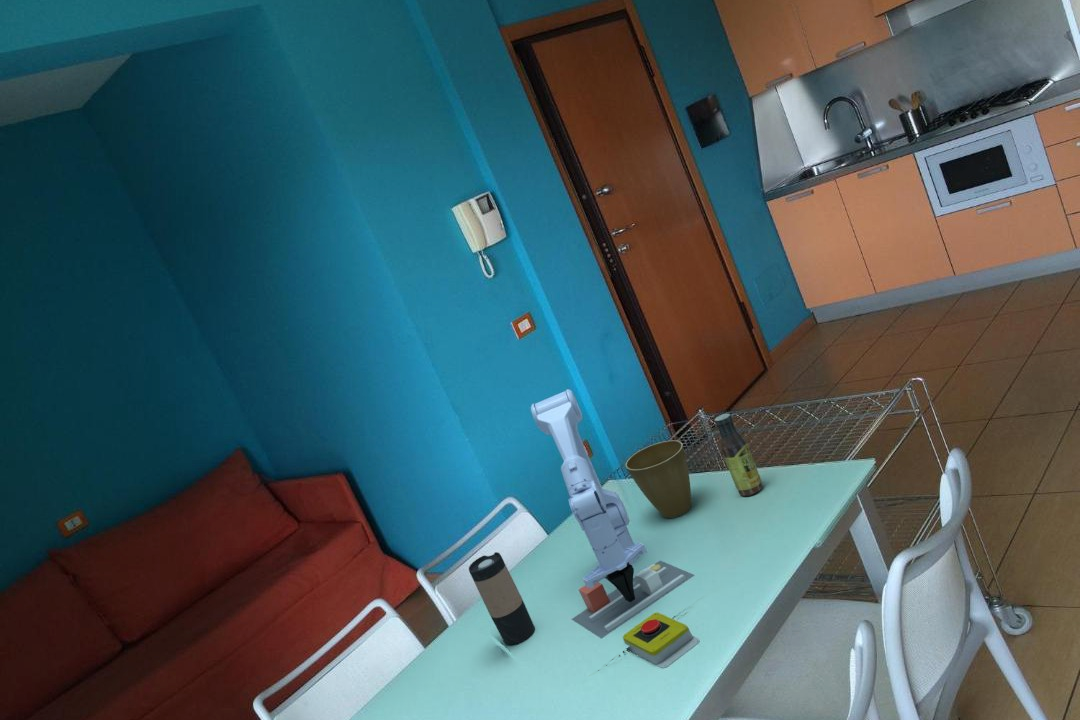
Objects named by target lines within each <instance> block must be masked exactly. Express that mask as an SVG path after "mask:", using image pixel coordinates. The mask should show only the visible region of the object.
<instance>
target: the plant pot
mask: <svg viewBox="0 0 1080 720" xmlns="http://www.w3.org/2000/svg"><path fill="white" fill-rule="evenodd" d="M688 467H689V466H688V462H687V457H686V452H685V449H684V445H683V442H682V441H680V440H676V439H675V440H664V441H660V442H656V443H654V444H651V445H649V446H646V447H644V448H642V449H640V450H638V451H637V452H635V453H633V454H632V456H630V457H629V458H628V459H627V461H626V462H625V468H626V470H627V471H628V473H629V475H630V476H631V477H632V479H633V482H634V483H635V484H636V485H637V487H638V488H639V490H640V491H641V493H642V494H643V495H644V496H645V498H646V499H647V500H648V502H649V503H651V505H652V506H653V507H654V508H655V509H656V511H657V512H659V514H660V515H661V516H662V517H663V518H665V519H674V518H677V517H680V516H683V515H685V514H686V513H687V512H689V510H690V509H691V507H692V498H691V497H692V493H691V491H692V489H691V481H690V473H689V468H688Z"/></svg>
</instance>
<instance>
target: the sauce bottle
mask: <svg viewBox="0 0 1080 720" xmlns="http://www.w3.org/2000/svg"><path fill="white" fill-rule="evenodd" d="M714 423H715V425H716V427H717V429H718V431H719V434H720V436H721V438H720V445H719V446H720V450H721V453H722V454H723V458H724V460H725V463H726V466H727V468H728V471H729V473H730V476H731V479H732V481H733V484H734V485H735V489H736V490H737V491H738V494H739V495H740V496H742V497H749V496H753V495H755V494H757V493H758V492H760V491H761V490H762V489H763V483H762V478H761V476H760V473H759V470H758V468H757V465H756V463H755V461H754V458H753V455H752V453H751V451H750V447H749V446H748V445H749V444H748V443H747V441H746V440H745V439H744V438H743V437H742V435H741V434H740V433H739V431H737V429H736V427H735V424H734V422H733V417H732V415H731V414H730V413H722V414H721V415H718V416H716V417H715V419H714Z"/></svg>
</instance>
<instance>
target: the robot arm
mask: <svg viewBox="0 0 1080 720" xmlns="http://www.w3.org/2000/svg"><path fill="white" fill-rule="evenodd" d="M530 412H531V414H532V417H533V420H534V422H535V424H536V426H537V427H538V429H539V430H540V431H541V432H543V433H544V434H545V435H550V436H552V439H553V440H554V442H555V445H556V447H557V449H558V451H559V454H560V456H561V458H562V460H563V463H562V464H561V466H560V471H561V474H562V477H563V481H564V484H565V486H566V489H567V492H568V495H569V498H568V504H569V507H570V510H571V512H572V515H573V517H574V518H575V520H576V521H577V522H578V523H577V524H579V526H580V528H581V530H582V531H584V534H585V536H586V538H587V540H588V542H589V545H590V547H591V549H592V552H593V553H594V556H595V558H596V560H597V563H598V565H596V567H594V569H593V570H592V571H591V572H590V573H588V574H587V575H586V576H584V577H583V578H582V580H583V582H584V586H585V585H586V587H588V588H590V589H591V588H593V587H594V585H595V584H596V583H598V582H599V583H600V582H601V581H602V580H604V579H606V580H607V581H608V582H609V583H610V584H612V585H613V586H614V587H615V588H616V589H618V590H619V591H620V593H621V594H622V595H623V596H624V598H625V600H627V601H628V602H632V601H633V600H635V595H634V589H633V578H634V573H635V568H634V566H633V565H632V564H633V563H635V562H636V561H637V560H638V559H639V556H640V555H645V554H646V553H647V552H648V551H647V549H646V547H645V545H644V543H642V542H636V544H635V543H634V541H633V538H632V536H631V533H630V532H629V530H628V529H629V528H628V527H627V526H628V525H630V518H629V515H628V512H627V509H626V508H625V505H624V502H623V501H622V499H621V498H620V496H619V494H618V493H617V492H616V491H613V490H608V489H605V488H604V487H603V486H602V484H601V481H600V480H599V477H598V475H597V472H596V471H595V468H594V466H593V463H592V461H591V458H590V457H589V454H588V452H587V450H586V448H585V445H584V443H583V440H582V438H581V435H580V433H579V431H578V430H579V429H578V428H579V427H578V424H579V423H580V422H581V421H582V420H583V419H584V418H583V413H582V410H581V409H580V406H579V404H578V401H577V398H576V397H575V394H574V392H573V390H571V389H570V388H569V389H566V390H564V391H563V392H560V393H557V394H555V395H553V396H550V397H548V398H545V399H543V400H540V401H539V402H536V403H532V404H531V406H530Z"/></svg>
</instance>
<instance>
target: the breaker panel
mask: <svg viewBox="0 0 1080 720" xmlns="http://www.w3.org/2000/svg"><path fill="white" fill-rule="evenodd" d="M647 568H649V569H651V570H653V571H656V572H657V573H658V575H659V577H660V579H661V582H662V584H663V587H662V588H660V589H659V590H657V591H656V592H654V593H653V594H652V595H649V594H647V593H645V592H643V591H642V589H641V586H640V584H639V582H638V580H637V577H636V576H633V589H634V595H635V600H633V601H632V602H628V601H627V600H625V598H624V596H623V595H622V594H621V593H620V591H619V590H618V589H617V588H616V589H614V590H613V591H612V592H610V593H609V594H607V596H608V598H609V600H610V602H611V603H609V604H608V605H606V606H605V607H603V608H601V609H600V610H598V611H597V612H595V613H593V612H591V611H589V610H588V609H587V608H586V609H585V610H583V611H581V612H580V613H578V614H577V615H576V616H574V617H572V618H571V620H572V621H574V622H575V623H577V624H578V625H580V626H581V627H583V628H584V629H586V630H588V631H589V632H591V633H592V634H594V635H595V636H597V637H598V638H600V639H603V638H604V637H606V636H607V635H609V634H610V633H612V632H614V631H615V630H616V629H618V628H620V627H621V626H622V625H624V624H625V623H627V622H628V621H630V620H631V619H633V618H634V617H636V616H637V615H639V614H640V613H641V612H642V611H645V610H646V609H648V608H649V607H650V606H652V605H653V604H654V603H656V602H658V601H659V600H661V599H662V598H663V597H665V596H666V595H668V594H669V593H671V592H672V591H673V590H675V589H677V588H678V587H679V586H681V585H683V584H684V583H685V582H687V581H688V580H690V579H692V578H693V577H695V574H693V573H691V572H689V571H686V570H683V569H682V568H678V567H677V566H675V565H672V564H669V563H667V562H665V561H663V560H658V561H657V562H656V563H653V564H651V565H649V566H648V567H647Z"/></svg>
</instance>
